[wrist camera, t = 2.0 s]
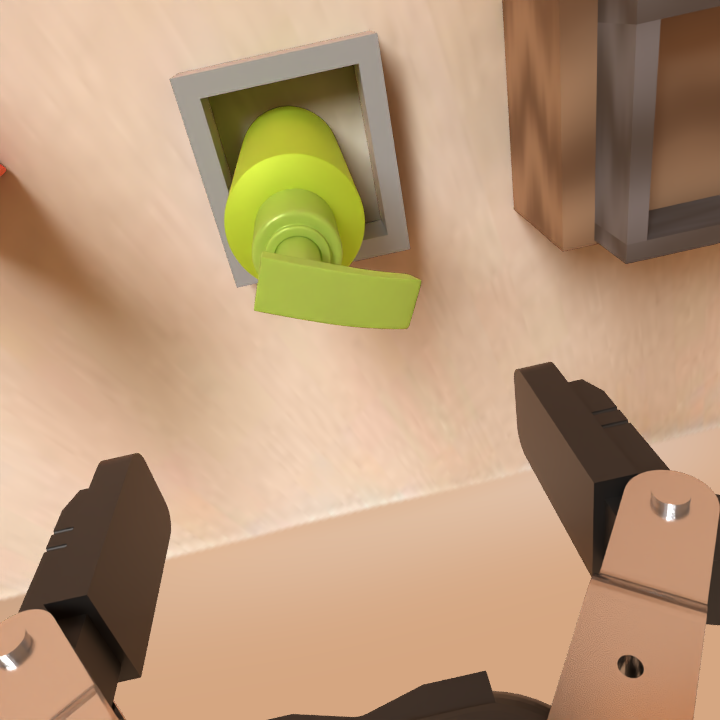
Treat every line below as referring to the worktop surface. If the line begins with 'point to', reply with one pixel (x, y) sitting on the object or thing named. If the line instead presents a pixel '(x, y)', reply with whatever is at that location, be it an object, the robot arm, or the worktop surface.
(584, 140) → the raised socket
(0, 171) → the pink drink carton
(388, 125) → the low socket
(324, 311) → the soap dispenser
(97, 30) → the worktop surface
